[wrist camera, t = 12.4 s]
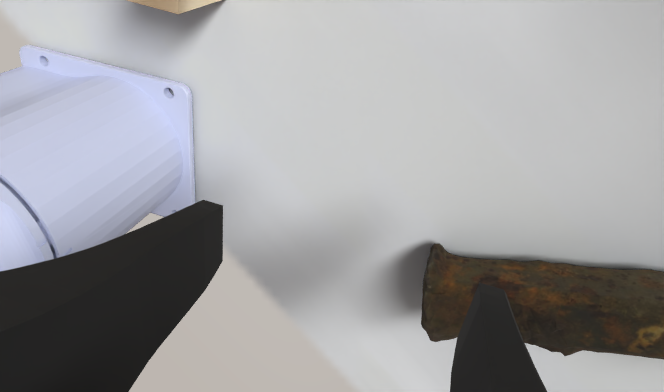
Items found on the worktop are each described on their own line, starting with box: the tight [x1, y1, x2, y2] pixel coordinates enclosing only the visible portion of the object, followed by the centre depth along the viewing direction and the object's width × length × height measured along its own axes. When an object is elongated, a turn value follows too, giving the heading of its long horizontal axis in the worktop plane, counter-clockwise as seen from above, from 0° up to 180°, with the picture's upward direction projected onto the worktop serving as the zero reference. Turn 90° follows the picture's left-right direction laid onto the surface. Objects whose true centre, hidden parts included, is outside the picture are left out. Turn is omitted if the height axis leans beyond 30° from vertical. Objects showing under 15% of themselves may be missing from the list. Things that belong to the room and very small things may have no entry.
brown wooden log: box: [421, 244, 664, 359], centre depth 19 cm, size 19×4×5 cm, turn 96°
